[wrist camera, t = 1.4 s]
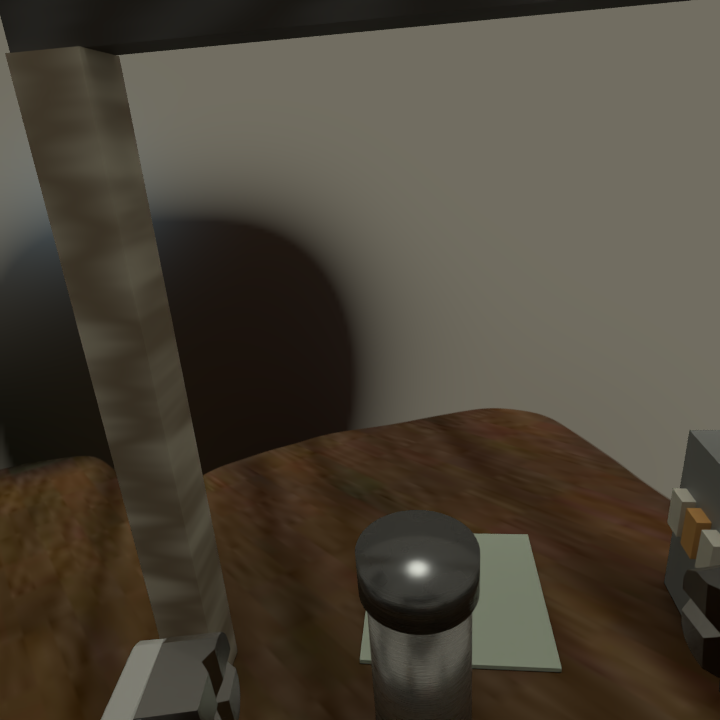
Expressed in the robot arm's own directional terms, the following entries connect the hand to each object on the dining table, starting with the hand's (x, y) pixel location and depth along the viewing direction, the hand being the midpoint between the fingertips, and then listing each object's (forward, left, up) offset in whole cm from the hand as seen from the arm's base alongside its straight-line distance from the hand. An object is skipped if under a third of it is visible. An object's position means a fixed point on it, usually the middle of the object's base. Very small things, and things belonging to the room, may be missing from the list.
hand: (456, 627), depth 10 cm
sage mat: (+1, +24, -22) cm, 32 cm away
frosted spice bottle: (-1, +12, -22) cm, 25 cm away
